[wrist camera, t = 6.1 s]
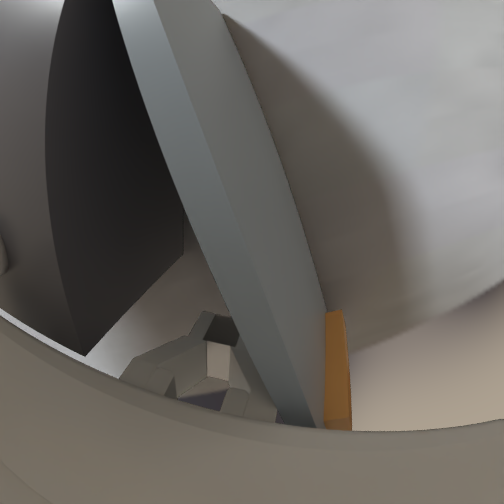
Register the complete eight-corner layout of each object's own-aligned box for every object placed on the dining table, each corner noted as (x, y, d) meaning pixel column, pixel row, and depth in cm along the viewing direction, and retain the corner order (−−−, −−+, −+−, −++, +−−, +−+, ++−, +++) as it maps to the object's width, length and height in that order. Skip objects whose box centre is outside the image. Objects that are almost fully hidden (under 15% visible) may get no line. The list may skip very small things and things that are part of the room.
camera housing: (81, 22, 10) (-35, 5, 2) (203, -9, 9) (93, -99, 1) (74, 232, 16) (-30, 297, 8) (183, 254, 14) (74, 368, 7)
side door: (200, 11, 9) (96, -65, 2) (232, -3, 9) (151, -99, 2) (314, 325, 14) (304, 459, 7) (345, 319, 14) (352, 453, 7)
